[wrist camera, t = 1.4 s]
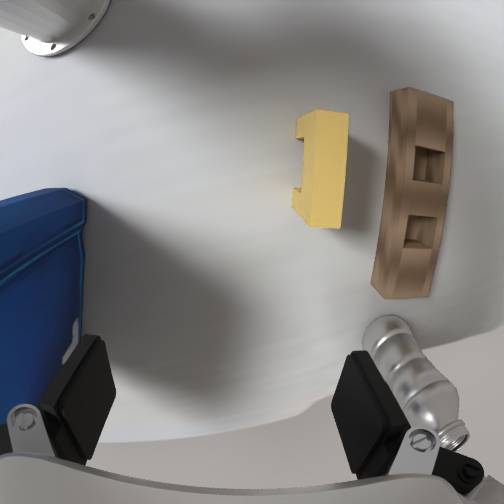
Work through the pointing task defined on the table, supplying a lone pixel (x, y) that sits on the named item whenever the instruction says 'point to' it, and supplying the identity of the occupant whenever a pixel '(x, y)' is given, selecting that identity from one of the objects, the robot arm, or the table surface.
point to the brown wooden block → (413, 193)
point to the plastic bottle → (415, 381)
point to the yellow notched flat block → (322, 168)
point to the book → (38, 291)
